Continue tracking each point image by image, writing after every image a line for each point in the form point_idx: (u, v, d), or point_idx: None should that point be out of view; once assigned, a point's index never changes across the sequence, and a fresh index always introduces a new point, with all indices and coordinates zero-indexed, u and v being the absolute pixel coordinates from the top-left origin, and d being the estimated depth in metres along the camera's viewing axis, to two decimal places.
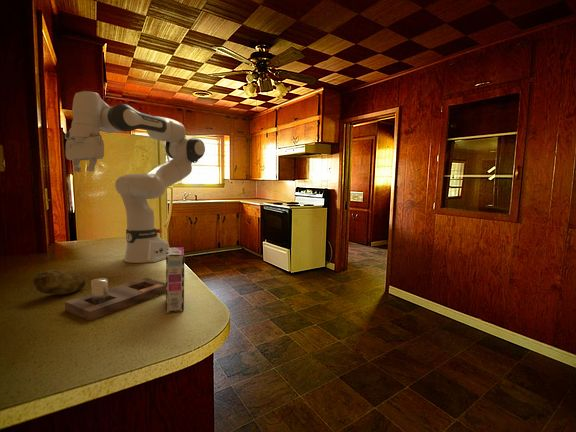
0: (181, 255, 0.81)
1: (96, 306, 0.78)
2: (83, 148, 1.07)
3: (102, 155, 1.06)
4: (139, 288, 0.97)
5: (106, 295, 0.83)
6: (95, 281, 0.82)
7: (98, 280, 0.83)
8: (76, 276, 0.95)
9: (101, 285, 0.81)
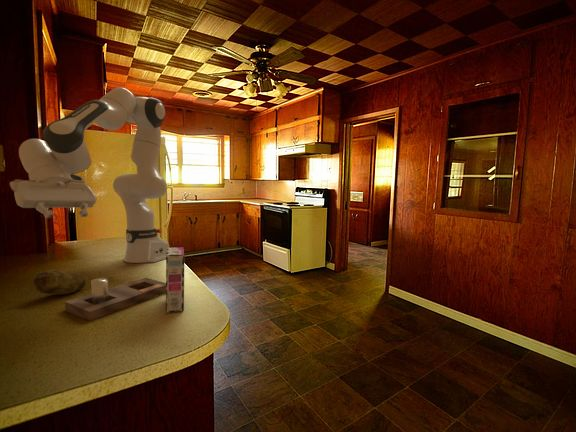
0: (181, 255, 0.81)
1: (96, 306, 0.78)
2: None
3: (20, 198, 0.80)
4: (139, 288, 0.97)
5: (106, 295, 0.83)
6: (95, 281, 0.82)
7: (98, 280, 0.83)
8: (76, 276, 0.95)
9: (101, 285, 0.81)
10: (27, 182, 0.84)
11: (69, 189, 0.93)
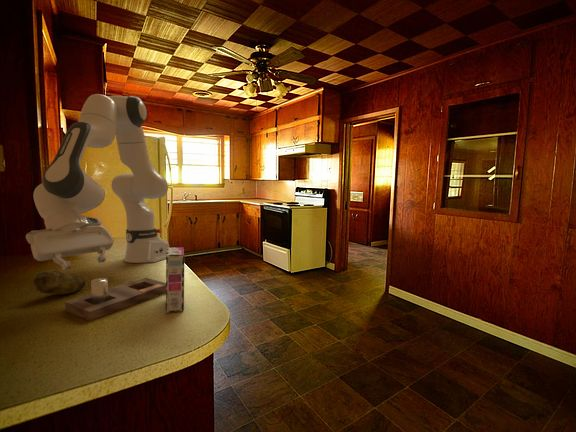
0: (181, 255, 0.81)
1: (96, 306, 0.78)
2: None
3: (37, 252, 0.77)
4: (139, 288, 0.97)
5: (106, 295, 0.83)
6: (95, 281, 0.82)
7: (98, 280, 0.82)
8: (76, 276, 0.95)
9: (101, 285, 0.81)
10: (43, 233, 0.81)
11: (86, 234, 0.89)
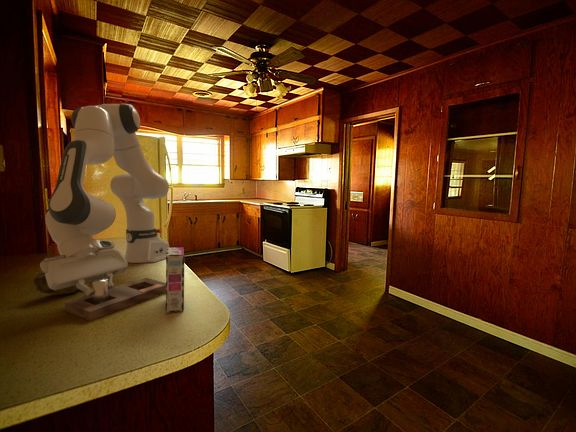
0: (181, 255, 0.81)
1: (96, 306, 0.78)
2: None
3: (52, 282, 0.75)
4: (139, 288, 0.97)
5: (106, 295, 0.83)
6: (95, 281, 0.82)
7: (98, 280, 0.83)
8: None
9: (101, 285, 0.81)
10: (57, 260, 0.79)
11: (100, 258, 0.87)
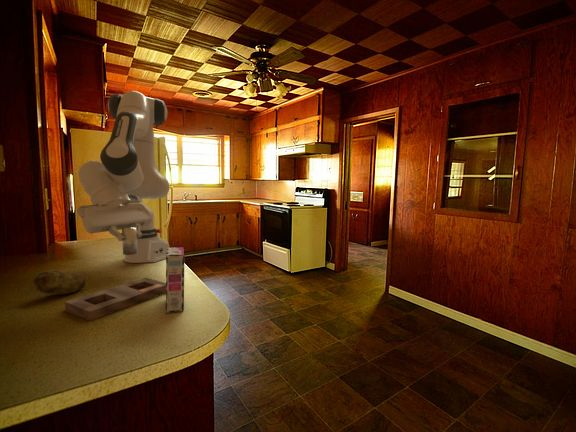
0: (181, 255, 0.81)
1: (96, 306, 0.78)
2: None
3: (89, 225, 0.82)
4: (139, 288, 0.97)
5: (135, 241, 0.90)
6: (126, 228, 0.89)
7: (128, 227, 0.90)
8: (76, 276, 0.95)
9: (131, 231, 0.89)
10: (92, 207, 0.86)
11: (128, 210, 0.94)
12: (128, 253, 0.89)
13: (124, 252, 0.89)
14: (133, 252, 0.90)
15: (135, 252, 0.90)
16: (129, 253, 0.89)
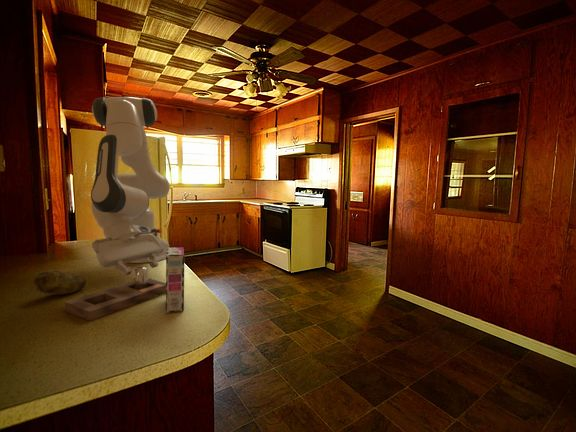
0: (181, 255, 0.81)
1: (96, 306, 0.78)
2: None
3: (103, 260, 0.86)
4: None
5: (147, 281, 0.95)
6: (137, 268, 0.93)
7: (139, 268, 0.94)
8: (76, 276, 0.95)
9: (143, 271, 0.93)
10: (106, 242, 0.90)
11: (139, 242, 0.98)
12: None
13: None
14: None
15: None
16: None
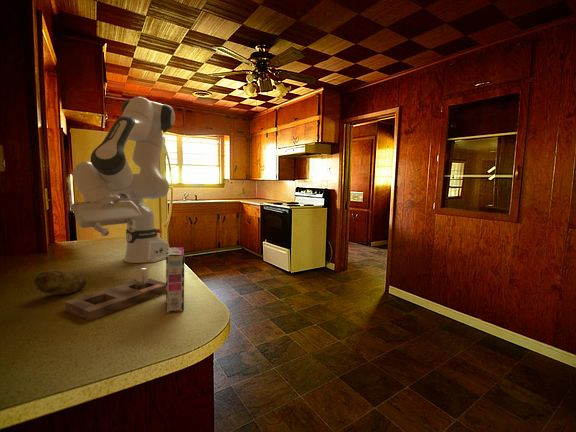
0: (181, 255, 0.81)
1: (96, 306, 0.78)
2: None
3: (81, 220, 0.90)
4: None
5: (147, 281, 0.94)
6: (138, 269, 0.93)
7: (140, 268, 0.94)
8: (77, 276, 0.95)
9: (143, 272, 0.93)
10: (84, 204, 0.94)
11: (118, 207, 1.02)
12: None
13: None
14: None
15: None
16: None
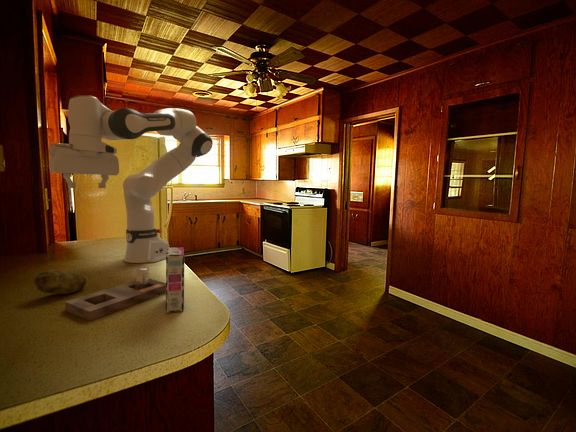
0: (181, 255, 0.81)
1: (96, 306, 0.78)
2: None
3: (53, 168, 0.89)
4: None
5: (147, 281, 0.94)
6: (138, 269, 0.93)
7: (140, 268, 0.94)
8: (77, 276, 0.95)
9: (144, 272, 0.93)
10: (64, 150, 0.90)
11: (99, 160, 1.00)
12: None
13: None
14: None
15: None
16: None
